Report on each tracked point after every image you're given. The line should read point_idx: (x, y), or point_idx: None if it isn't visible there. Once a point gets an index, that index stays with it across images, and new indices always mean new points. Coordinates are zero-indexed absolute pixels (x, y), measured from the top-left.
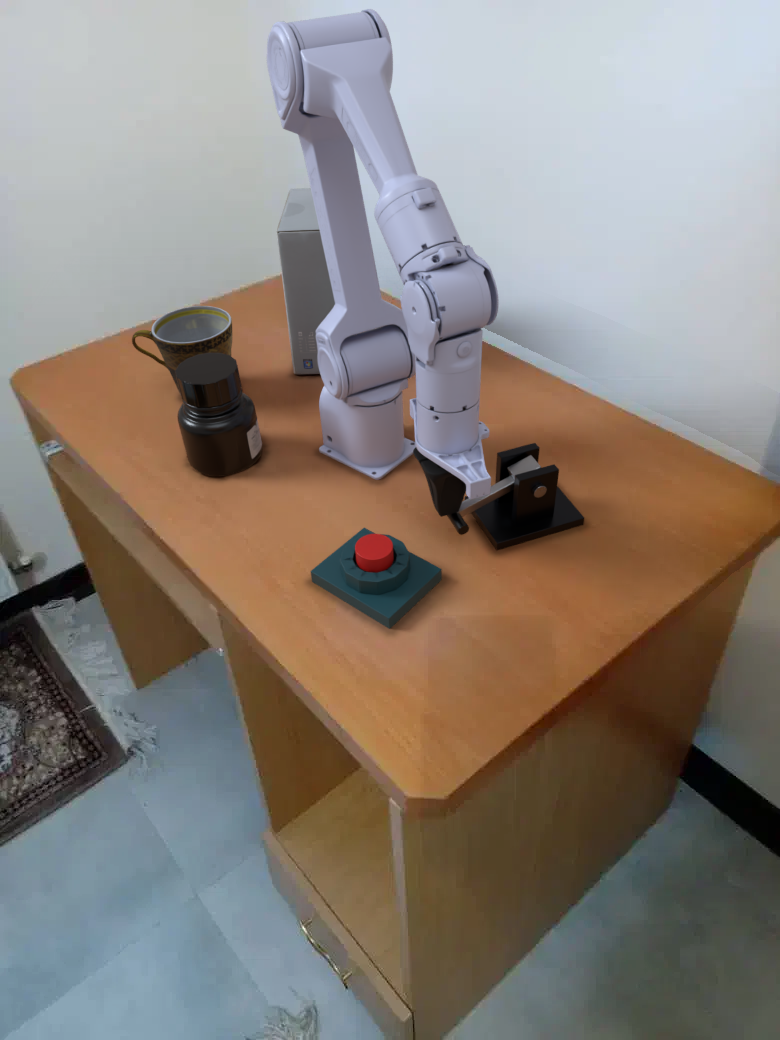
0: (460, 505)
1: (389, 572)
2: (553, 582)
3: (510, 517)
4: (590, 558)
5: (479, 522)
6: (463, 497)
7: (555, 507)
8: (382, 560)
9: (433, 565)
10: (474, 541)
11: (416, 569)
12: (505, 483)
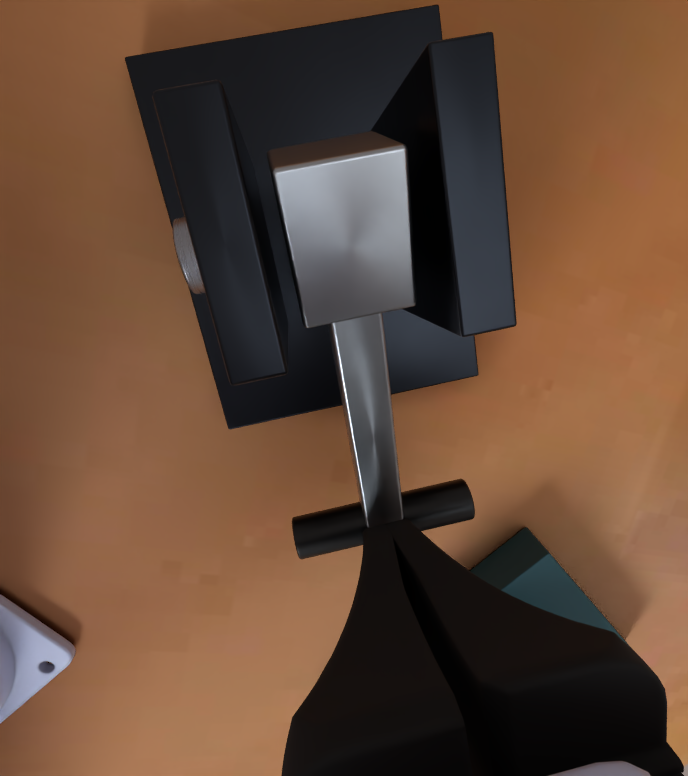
0: (418, 529)
1: None
2: (627, 236)
3: None
4: (577, 72)
5: None
6: (433, 544)
7: (353, 107)
8: None
9: (530, 571)
10: (404, 419)
11: None
12: (365, 344)
